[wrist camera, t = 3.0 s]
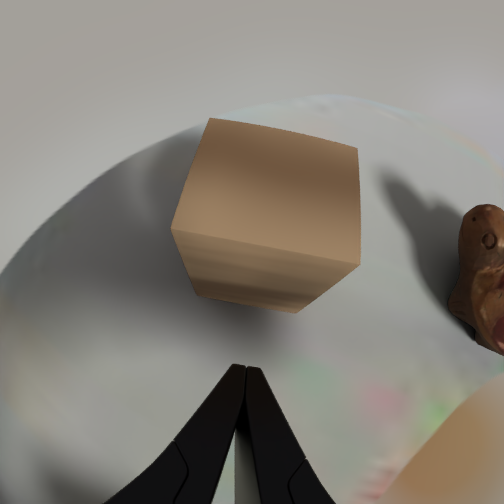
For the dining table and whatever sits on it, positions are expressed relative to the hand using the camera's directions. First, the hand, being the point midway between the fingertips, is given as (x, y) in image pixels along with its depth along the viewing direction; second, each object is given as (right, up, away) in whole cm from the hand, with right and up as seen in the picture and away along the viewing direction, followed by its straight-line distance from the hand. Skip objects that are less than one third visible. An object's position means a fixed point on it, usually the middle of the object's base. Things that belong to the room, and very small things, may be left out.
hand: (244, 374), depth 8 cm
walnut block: (0, +3, +10) cm, 10 cm away
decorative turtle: (+19, -1, +10) cm, 22 cm away
